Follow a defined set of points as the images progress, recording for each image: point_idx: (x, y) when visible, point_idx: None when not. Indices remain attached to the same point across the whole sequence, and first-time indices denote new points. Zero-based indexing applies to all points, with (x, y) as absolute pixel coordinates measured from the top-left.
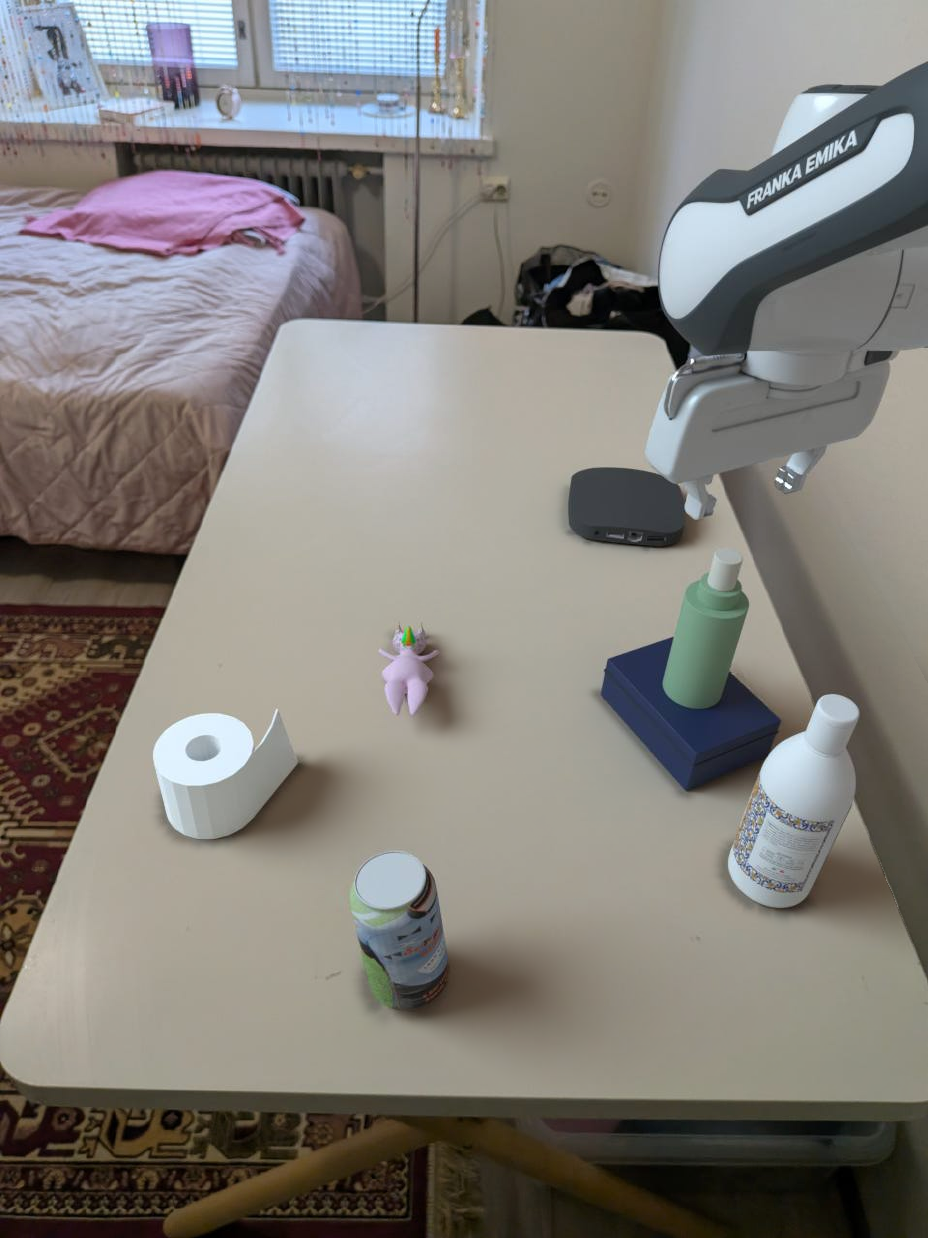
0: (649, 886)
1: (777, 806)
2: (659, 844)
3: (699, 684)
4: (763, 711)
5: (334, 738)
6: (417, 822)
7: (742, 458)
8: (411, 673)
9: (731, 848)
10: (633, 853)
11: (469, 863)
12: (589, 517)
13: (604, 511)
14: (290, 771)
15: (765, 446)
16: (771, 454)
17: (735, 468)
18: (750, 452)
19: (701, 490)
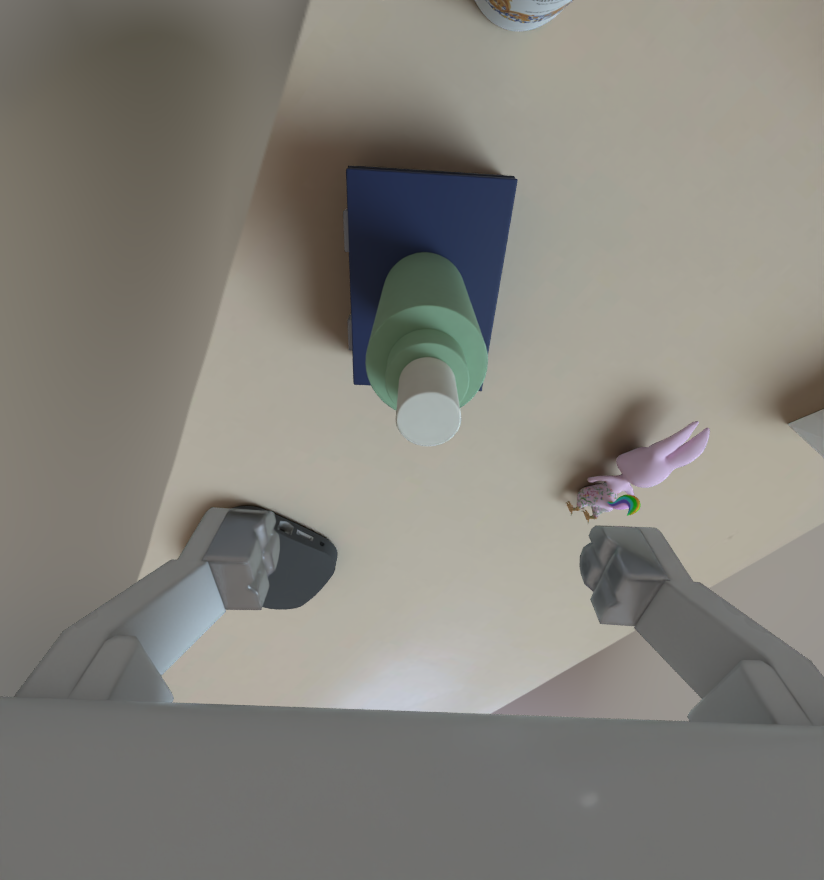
0: (677, 47)
1: None
2: (604, 110)
3: (456, 275)
4: (359, 202)
5: (736, 434)
6: (780, 305)
7: (744, 807)
8: (660, 465)
9: (559, 12)
10: (644, 117)
11: (798, 222)
12: (320, 562)
13: (301, 563)
14: (803, 418)
15: (592, 871)
16: (496, 767)
17: (722, 730)
18: (710, 849)
19: (766, 639)
